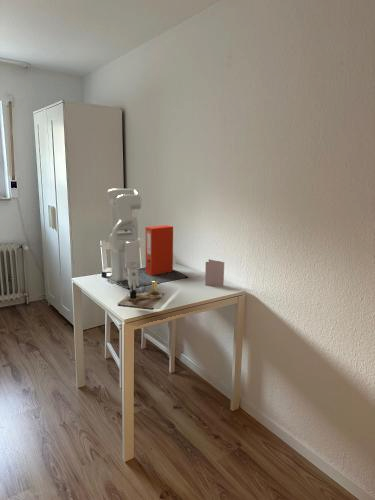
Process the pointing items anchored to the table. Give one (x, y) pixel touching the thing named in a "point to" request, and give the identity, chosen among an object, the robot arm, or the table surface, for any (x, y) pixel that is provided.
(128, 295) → the link
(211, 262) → the greeting card
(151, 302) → the base plate
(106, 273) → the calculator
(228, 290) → the table surface
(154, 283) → the pin
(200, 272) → the table surface
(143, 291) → the bracket
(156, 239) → the file binder
